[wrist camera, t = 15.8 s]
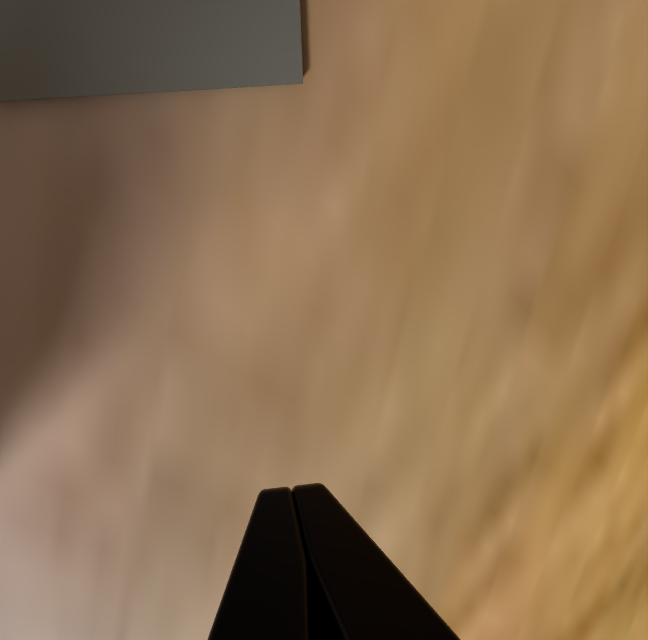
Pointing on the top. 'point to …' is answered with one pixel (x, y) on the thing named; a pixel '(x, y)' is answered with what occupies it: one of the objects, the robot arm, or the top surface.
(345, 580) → the robot arm
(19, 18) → the mat
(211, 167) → the top surface
